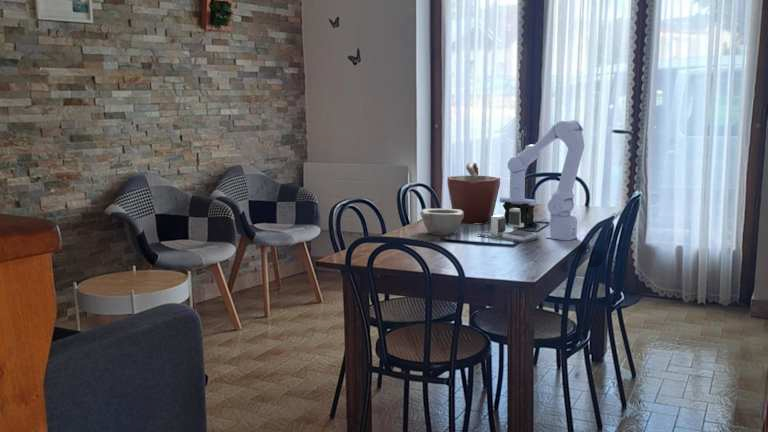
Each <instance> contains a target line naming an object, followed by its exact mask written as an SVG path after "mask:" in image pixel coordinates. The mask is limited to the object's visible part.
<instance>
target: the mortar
mask: <svg viewBox="0 0 768 432" xmlns="http://www.w3.org/2000/svg"><path fill="white" fill-rule="evenodd" d="M420 215H421V219H422V222H423V224H424V227H425V228H426V230H427V232H428V233H429V234H431V235H435V236H450V235H453V234H455V232H456V231H457V230H458V229H459V226H460V225H461V224H462V223H461V221H462V220H463V218H464V212H463V211H462V210H460V209H452V208H423V209H422V210H421V211H420Z"/></svg>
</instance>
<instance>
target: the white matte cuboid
mask: <svg viewBox="0 0 768 432" xmlns="http://www.w3.org/2000/svg"><path fill="white" fill-rule="evenodd" d="M508 226H509V227H512V228H513V227H514V228H524V227H525V225H524V223H521V211H520V208H510V209H509V224H508Z"/></svg>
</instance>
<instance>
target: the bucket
mask: <svg viewBox="0 0 768 432" xmlns="http://www.w3.org/2000/svg"><path fill="white" fill-rule="evenodd" d="M465 169H466V171H467V172H468V173H469V174H467V175H466V174H463V175H450V176H447V183H446V185H447V190H448V195H449V200H450V201H449V202H450V209H460V210H462V211H463V212H464V218H463V220H462V221H461V223H460V224H465V225H466V224H467V225H475V224H474V223H483V224H488V223H490V222H491V216H494V213H495V208H496V204H497V199H498V197H499V196H498V195H499V192H500V186H501V178H500V177H496V176H490V175H479V167H478V165H477V163H476V162H468V163H467V164H466V167H465ZM489 221H490V222H489ZM487 222H488V223H487Z"/></svg>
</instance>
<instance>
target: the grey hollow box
mask: <svg viewBox="0 0 768 432" xmlns="http://www.w3.org/2000/svg"><path fill="white" fill-rule="evenodd" d="M506 230H507V229H506V218H505V214H495V215H494V214H493V216H491V221H490V230H487V231H484V232H481V233H478V234H477V236H478V235H480V236H487V237H494V238H500V239H499V240H501V239H507V240H506V241H509V240H513V241H512V242H516V241H518V243H528V242H530V241H534V240H537V239H539V235H538V232H532V231H523V230H519V229H517V230H516V229H514V230H511V231H506ZM480 236H479V237H480ZM487 237H486V238H487ZM494 238H493V239H494Z"/></svg>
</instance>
